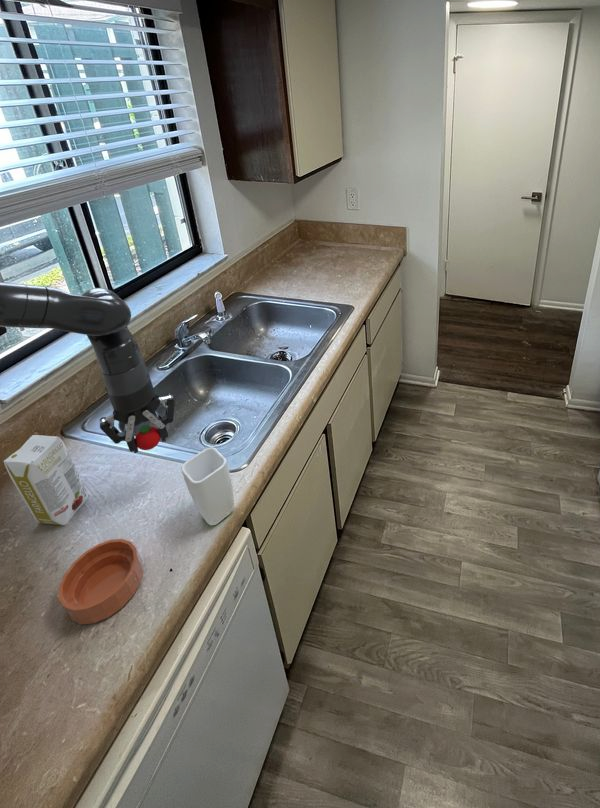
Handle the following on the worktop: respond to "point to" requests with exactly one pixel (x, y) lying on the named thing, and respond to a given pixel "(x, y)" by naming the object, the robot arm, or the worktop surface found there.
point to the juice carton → (47, 479)
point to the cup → (209, 485)
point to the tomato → (147, 437)
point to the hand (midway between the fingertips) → (149, 444)
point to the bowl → (101, 581)
